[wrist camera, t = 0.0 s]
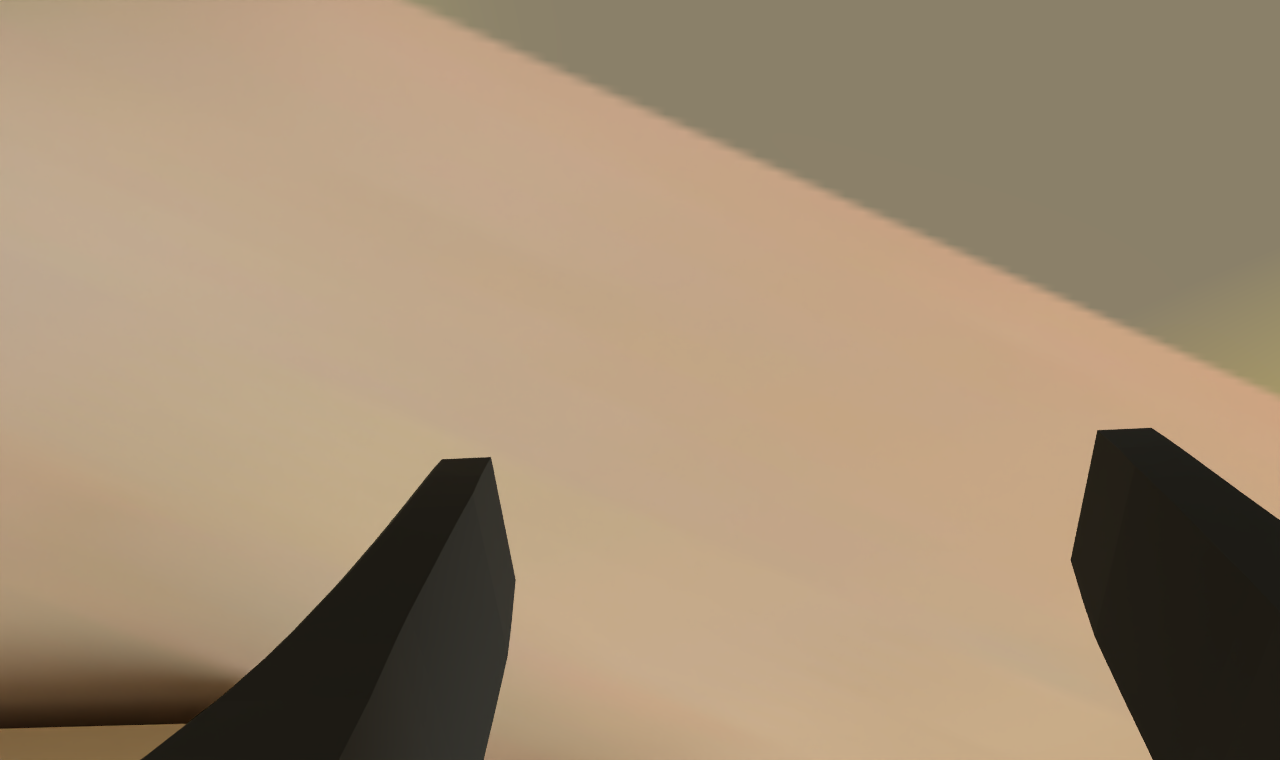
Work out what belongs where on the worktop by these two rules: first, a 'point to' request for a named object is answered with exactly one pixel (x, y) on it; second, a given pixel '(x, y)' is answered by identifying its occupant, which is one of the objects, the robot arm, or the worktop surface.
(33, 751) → the beige grey flat-sided piece
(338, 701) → the robot arm
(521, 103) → the worktop surface
